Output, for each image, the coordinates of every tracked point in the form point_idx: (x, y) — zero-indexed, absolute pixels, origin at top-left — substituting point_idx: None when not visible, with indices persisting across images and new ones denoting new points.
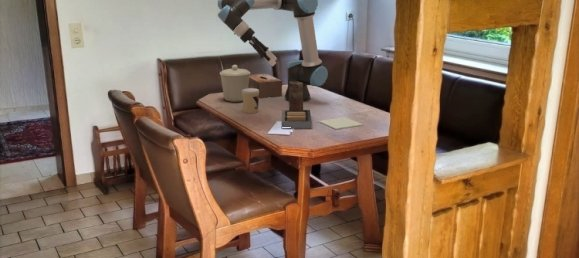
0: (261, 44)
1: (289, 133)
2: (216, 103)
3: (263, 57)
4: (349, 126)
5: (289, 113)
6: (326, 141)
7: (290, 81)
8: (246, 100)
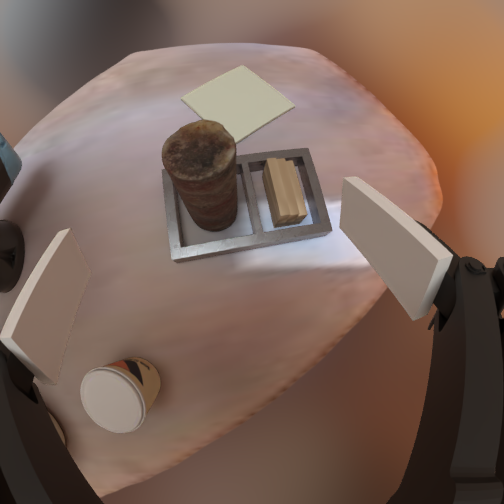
0: (51, 498)
1: None
2: (92, 472)
3: (424, 308)
4: (267, 83)
5: (288, 207)
6: (382, 128)
7: (192, 173)
8: (151, 404)
